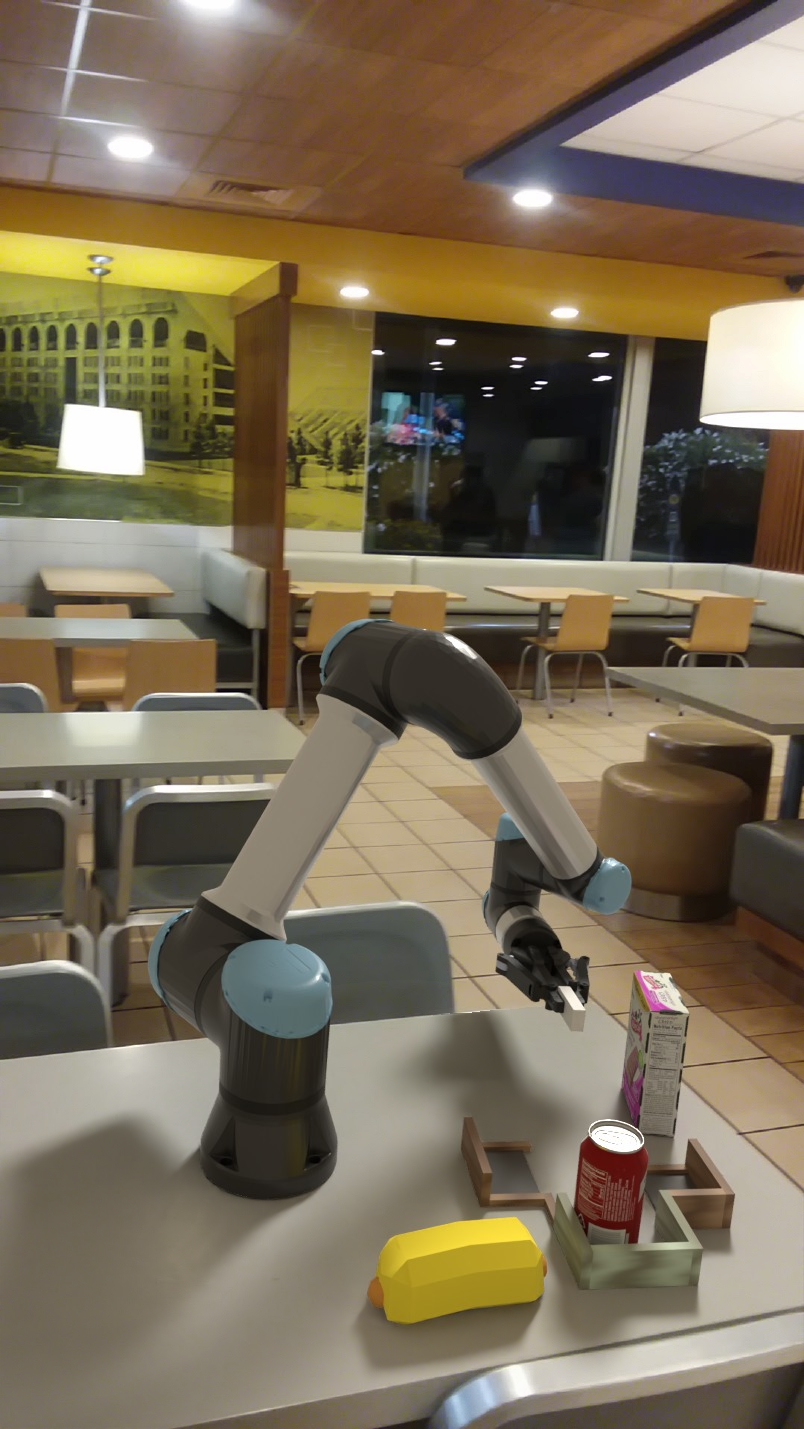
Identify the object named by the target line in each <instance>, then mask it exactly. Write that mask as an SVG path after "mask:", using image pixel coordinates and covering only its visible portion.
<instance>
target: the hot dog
mask: <svg viewBox="0 0 804 1429" xmlns="http://www.w3.org/2000/svg"><path fill="white" fill-rule="evenodd" d="M377 1261H378V1262H377V1266H376V1271H375V1275H374V1278H372V1279H371V1280H370V1281H369V1283H368V1289H367V1294H366V1295H367V1298H368V1299H369V1301H370V1303H371V1306H372V1307H377V1308H380V1309H383V1310H384V1312H385V1316H386V1319H387V1321H389V1322H393V1323H395V1324H398V1325H403V1326H407V1325H412V1324H416V1323H420V1322H424V1321H428V1320H431V1319H435V1318H440V1317H443V1316H447V1315H451V1314H455V1313H459V1312H464V1311H467V1310H474V1309H484V1308H495V1307H502V1306H510V1305H511V1306H514V1305H521V1304H528V1303H531V1302H535V1301H537V1300H538V1298H540V1297H541V1296H542V1295H543V1293H545V1280H544V1279H545V1277H547V1274H548V1264H547V1260H546V1257H545V1256H544V1254H543V1251H541V1249H540V1248H539V1247H538V1245H537V1243H536V1242H535V1239H534V1238H533V1236H532V1234H531V1233H530V1231H529V1229H528V1228H527V1227H526V1226H525V1225H524V1223H523V1222H521V1220H519V1219H518V1218H517V1217H516V1216H512V1217H511V1216H510V1217H509V1216H507V1217H498V1218H495V1217H494V1218H483V1219H471V1220H460V1221H459V1220H458V1221H454V1222H449V1223H446V1224H440V1225H436V1226H432V1227H428V1228H427V1227H426V1228H423V1229H418V1230H414V1231H410V1232H405V1233H399V1234H395V1235H394V1236H392V1237H390V1238H389V1239H388V1240H387V1242H386V1244H385V1245H384V1246H383V1248H382V1250H381V1251H380V1252H379V1257H378V1260H377Z"/></svg>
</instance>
